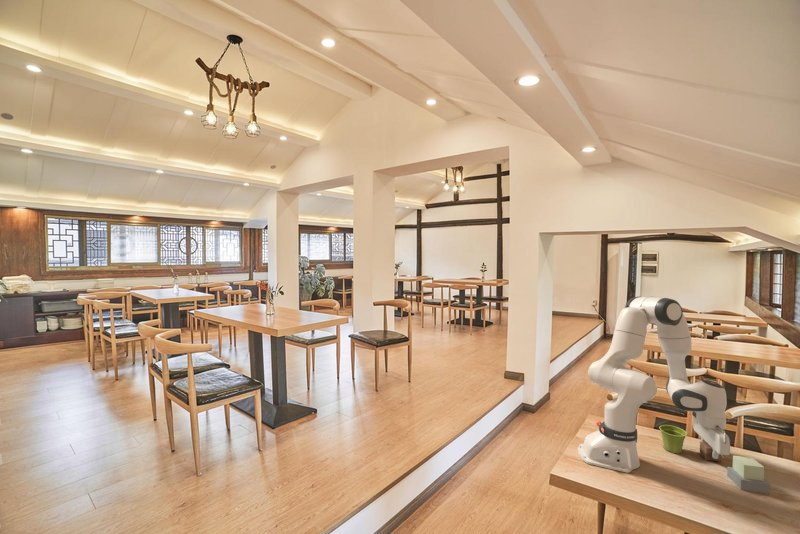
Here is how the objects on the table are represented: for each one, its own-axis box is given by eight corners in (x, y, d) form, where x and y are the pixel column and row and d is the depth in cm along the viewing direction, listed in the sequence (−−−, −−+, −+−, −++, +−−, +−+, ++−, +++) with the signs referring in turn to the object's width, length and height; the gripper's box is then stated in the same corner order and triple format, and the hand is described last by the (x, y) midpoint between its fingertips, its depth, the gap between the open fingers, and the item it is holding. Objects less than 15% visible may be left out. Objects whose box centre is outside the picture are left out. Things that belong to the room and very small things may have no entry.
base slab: (740, 490, 127) (741, 479, 127) (727, 476, 134) (727, 466, 134) (768, 494, 125) (768, 483, 124) (753, 480, 132) (753, 469, 132)
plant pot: (691, 457, 147) (692, 436, 146) (666, 455, 148) (666, 434, 148) (678, 444, 156) (679, 425, 155) (654, 442, 158) (655, 424, 157)
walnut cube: (706, 459, 144) (706, 447, 144) (699, 452, 149) (700, 441, 148) (721, 461, 142) (721, 449, 142) (714, 454, 147) (714, 443, 147)
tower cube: (743, 478, 127) (744, 465, 127) (732, 468, 133) (732, 455, 133) (763, 480, 126) (764, 467, 125) (751, 470, 132) (752, 457, 131)
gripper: (736, 434, 134) (735, 469, 134) (707, 410, 153) (706, 441, 154) (716, 432, 136) (715, 467, 136) (689, 409, 155) (688, 439, 156)
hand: (710, 453), depth 145 cm, fingers closed on walnut cube, 5 cm apart
